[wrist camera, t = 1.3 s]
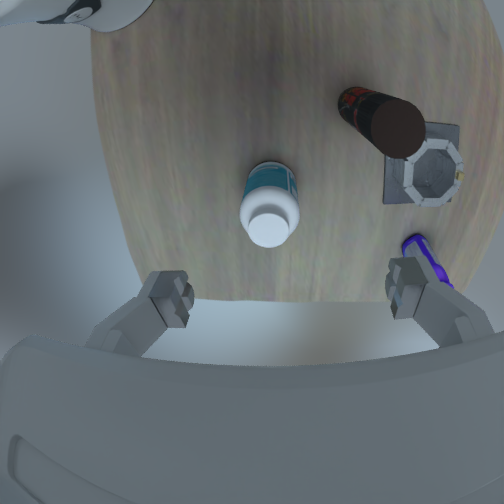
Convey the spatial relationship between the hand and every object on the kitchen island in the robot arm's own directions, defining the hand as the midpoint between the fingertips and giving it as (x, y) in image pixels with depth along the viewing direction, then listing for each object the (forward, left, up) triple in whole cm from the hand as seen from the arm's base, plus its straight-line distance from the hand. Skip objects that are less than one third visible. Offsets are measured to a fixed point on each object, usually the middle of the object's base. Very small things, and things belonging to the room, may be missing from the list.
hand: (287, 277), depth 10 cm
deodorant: (-2, +11, -31) cm, 33 cm away
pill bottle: (+9, -3, -31) cm, 33 cm away
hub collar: (+7, +22, -31) cm, 39 cm away
